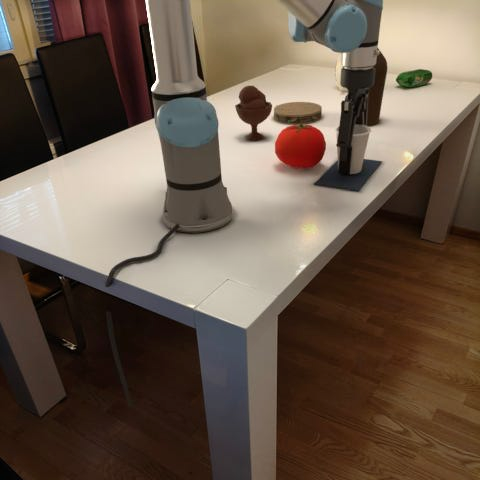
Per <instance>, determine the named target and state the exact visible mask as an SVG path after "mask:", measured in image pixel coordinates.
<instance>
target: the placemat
mask: <svg viewBox="0 0 480 480" xmlns="http://www.w3.org/2000/svg"><path fill="white" fill-rule="evenodd" d="M382 162H383V161H382V160H374V159H369V158H368V159H367V158H364V160H363V164H362V169H361V171H360V172H359V173H356V174H342V173H338V159H337V160H336V161H335V162H334V163H333V164H332V165H331V166H330V167H328V169H327V170H326V171H325V172H323V174H322V175H321V176H320V177H319V178H318V179H317V180H316V181H314V183H313V184H314V186H320V187H325V188H326V187H327V188H332V189H337V190H338V189H339V190H345V191H351V192H360V190H361V189H362V188H363V187H364V185H365V184H366V183H367V182H368V180H369V179H370V178H371V176H372V175H373V174H374V173H375V172H376V171H377V169H379V166H380V165H381V164H382Z"/></svg>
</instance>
